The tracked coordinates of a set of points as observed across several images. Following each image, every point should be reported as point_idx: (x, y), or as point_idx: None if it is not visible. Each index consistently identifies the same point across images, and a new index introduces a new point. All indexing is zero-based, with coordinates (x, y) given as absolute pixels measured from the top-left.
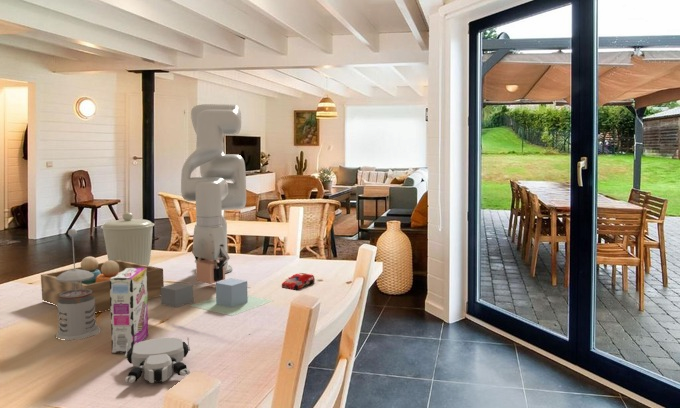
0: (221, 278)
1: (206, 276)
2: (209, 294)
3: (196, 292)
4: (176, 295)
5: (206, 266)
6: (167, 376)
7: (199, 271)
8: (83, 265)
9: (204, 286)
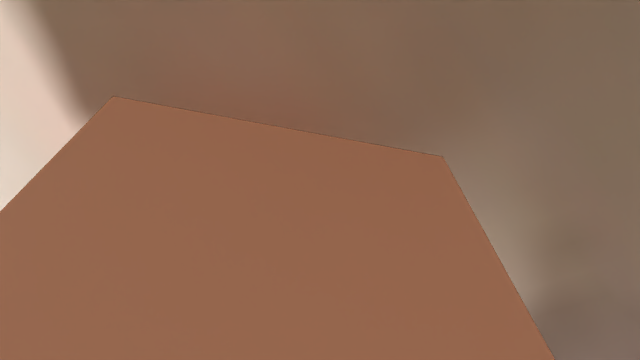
0: None
1: (187, 168)
2: (166, 37)
3: (391, 53)
4: None
5: (99, 318)
6: None
7: (401, 240)
8: None
9: None
